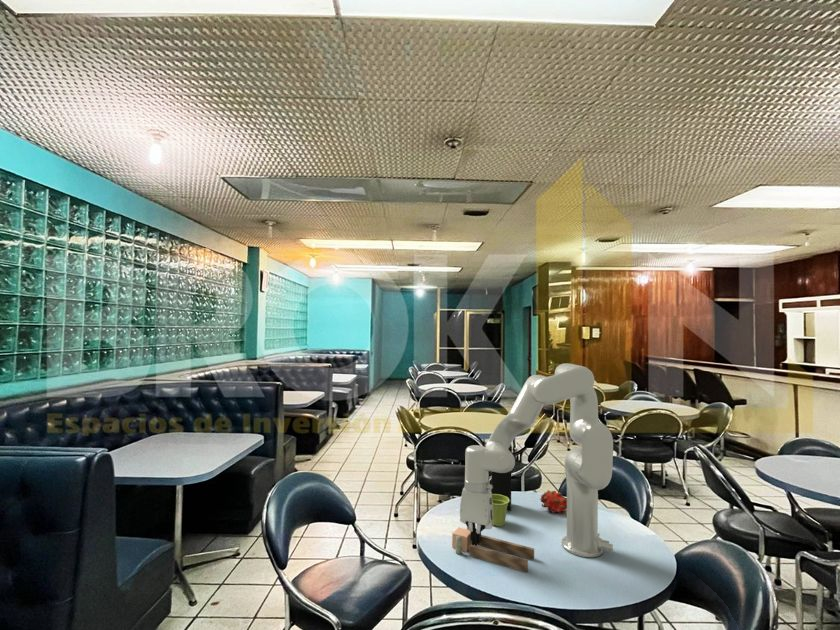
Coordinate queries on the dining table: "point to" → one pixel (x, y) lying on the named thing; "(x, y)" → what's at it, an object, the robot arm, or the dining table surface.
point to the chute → (497, 556)
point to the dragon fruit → (554, 501)
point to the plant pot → (499, 509)
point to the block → (465, 538)
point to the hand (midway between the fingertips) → (475, 543)
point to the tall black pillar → (502, 483)
